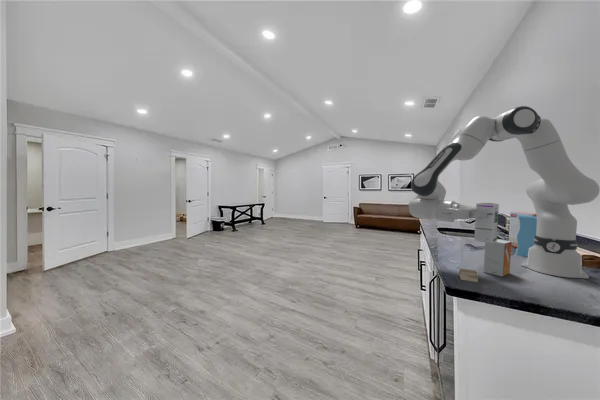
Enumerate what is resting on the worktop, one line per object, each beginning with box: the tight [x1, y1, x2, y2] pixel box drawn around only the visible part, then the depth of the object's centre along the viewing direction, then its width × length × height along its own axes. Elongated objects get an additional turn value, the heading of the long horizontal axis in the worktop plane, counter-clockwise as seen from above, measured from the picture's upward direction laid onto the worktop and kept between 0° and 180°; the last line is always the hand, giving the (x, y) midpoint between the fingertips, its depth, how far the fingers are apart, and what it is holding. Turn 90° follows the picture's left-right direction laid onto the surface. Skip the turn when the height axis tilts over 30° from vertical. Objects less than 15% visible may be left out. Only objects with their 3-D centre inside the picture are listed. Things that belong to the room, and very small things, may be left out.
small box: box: [483, 238, 512, 277], centre depth 94 cm, size 8×6×13 cm
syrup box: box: [474, 202, 500, 244], centre depth 89 cm, size 6×6×14 cm
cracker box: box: [508, 211, 537, 249], centre depth 137 cm, size 14×6×21 cm, turn 179°
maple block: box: [458, 267, 479, 283], centre depth 88 cm, size 5×5×3 cm
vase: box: [515, 216, 537, 258], centre depth 122 cm, size 8×8×20 cm
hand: (490, 214), depth 88 cm, fingers closed on syrup box, 6 cm apart
